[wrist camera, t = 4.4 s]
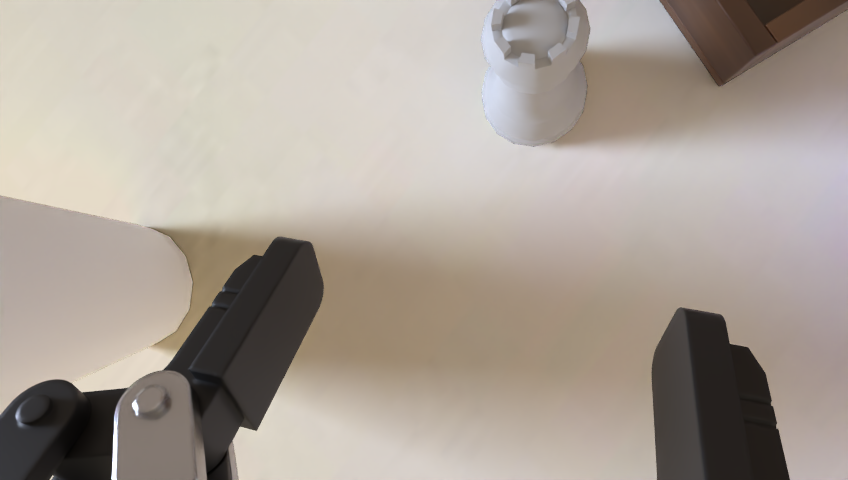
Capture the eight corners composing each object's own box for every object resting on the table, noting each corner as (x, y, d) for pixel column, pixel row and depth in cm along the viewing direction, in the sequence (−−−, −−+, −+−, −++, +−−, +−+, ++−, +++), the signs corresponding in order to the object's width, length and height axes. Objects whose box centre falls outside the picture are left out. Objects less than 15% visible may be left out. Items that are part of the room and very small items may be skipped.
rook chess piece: (468, 76, 23) (435, -11, 15) (561, 30, 22) (577, -86, 14) (506, 164, 22) (492, 123, 15) (602, 122, 22) (643, 54, 14)
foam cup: (169, 164, 26) (-173, 92, 13) (250, 320, 25) (-38, 401, 12) (41, 254, 28) (-370, 266, 15) (112, 404, 27) (-265, 550, 14)
